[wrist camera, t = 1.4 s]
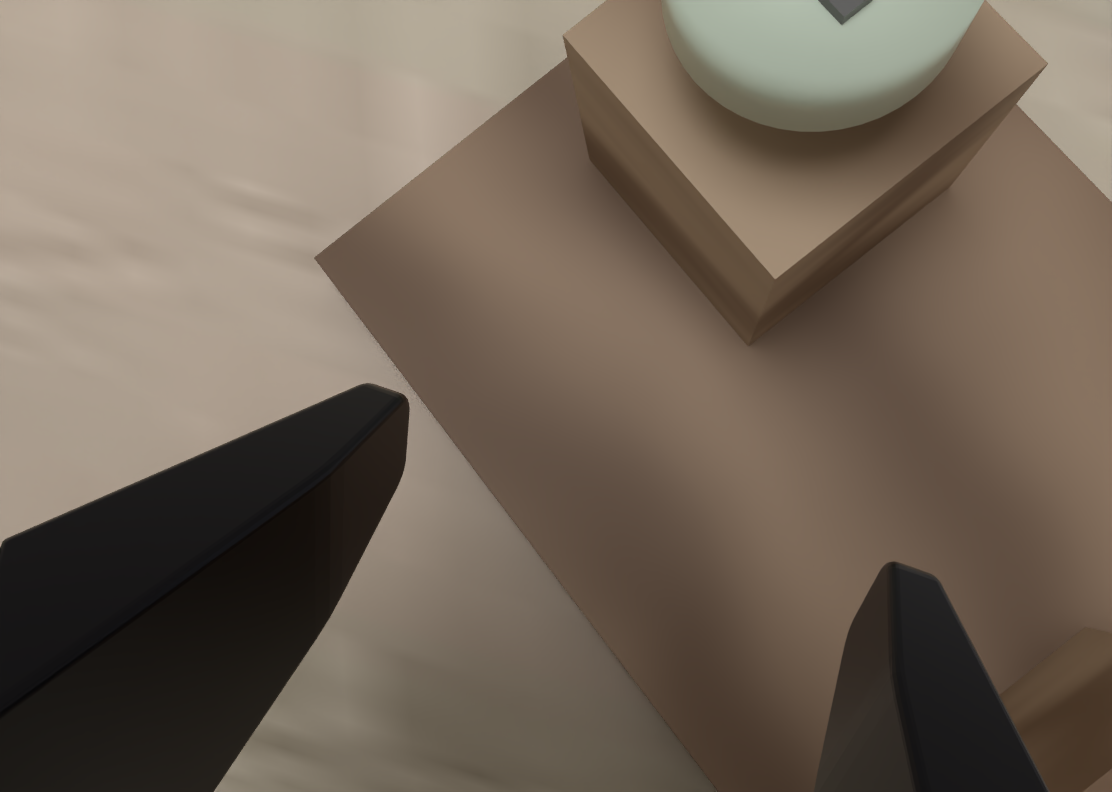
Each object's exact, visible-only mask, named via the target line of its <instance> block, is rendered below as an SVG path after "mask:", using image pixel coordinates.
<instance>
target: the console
mask: <svg viewBox="0 0 1112 792" xmlns="http://www.w3.org/2000/svg"><path fill="white" fill-rule="evenodd" d="M563 38H564V43H565V48H566V52H567V58H566V59H565V60H563V61H562V62H561V63H559V64H558V65H557V66H556V67H554V68H553V69H552V70H551V71H549V72H548V73H547V74H546V75H544V76H543V77H542V78H541V79H539V80H538V81H537V82H535V83H534V84H533V85H532V86H530V87H529V88H528V89H527V90H525V91H524V92H523V93H522V94H520V95H519V96H518V97H517V98H515V99H514V100H513V101H511V102H510V103H509V104H508V105H506V106H505V107H504V108H503V109H501V110H500V111H499V112H498V113H496V114H495V115H494V116H493V117H491V118H490V119H489V120H487V121H486V122H485V123H484V124H482V125H481V126H480V127H479V128H477V129H476V130H475V131H474V132H472V133H471V134H470V135H469V136H467V137H466V138H465V139H463V140H462V141H461V142H460V143H458V144H457V145H456V146H455V147H453V148H452V149H451V150H450V151H448V152H447V153H446V154H445V155H443V156H442V157H441V158H439V159H438V160H437V161H436V162H434V163H433V164H432V165H431V166H429V167H428V168H427V169H426V170H424V171H423V172H422V173H421V174H419V175H418V176H417V177H415V178H414V179H413V180H412V181H410V182H409V183H408V184H407V185H405V186H404V187H403V188H402V189H400V190H399V191H398V192H397V193H395V194H394V195H393V196H392V197H390V198H389V199H388V200H386V201H385V202H384V203H383V204H381V205H380V206H379V207H378V208H376V209H375V210H374V211H373V212H371V213H370V214H369V215H368V216H366V217H365V218H364V219H362V220H361V221H360V222H359V223H357V224H356V225H355V226H354V227H352V228H351V229H350V230H349V231H347V232H346V233H345V234H344V235H342V236H341V237H340V238H338V239H337V240H336V241H335V242H333V243H332V244H331V245H330V246H328V247H327V248H326V249H325V250H323V251H322V252H321V253H320V254H318V255H317V256H316V257H314V258H315V260H316V261H317V262H318V264H319V265H320V266H321V268H322V269H323V270H324V272H325V273H326V274H327V276H328V277H329V278H330V280H331V281H332V282H333V284H334V285H335V286H336V287H337V289H338V290H339V291H340V293H341V294H342V295H343V297H344V298H345V299H346V301H347V302H348V303H349V305H350V306H351V307H352V309H353V310H354V311H355V313H356V314H357V315H358V317H359V318H360V319H361V321H362V322H363V323H364V324H365V326H366V327H367V328H368V330H369V331H370V332H371V334H372V335H373V336H374V338H375V339H376V340H377V342H378V343H379V344H380V346H381V347H382V348H383V350H384V351H385V352H386V354H387V355H388V356H389V357H390V359H391V360H392V361H393V363H394V364H395V365H396V367H397V368H398V369H399V371H400V372H401V373H402V375H403V376H404V377H405V379H406V380H407V381H408V383H409V384H410V385H411V387H412V388H413V389H414V391H415V392H416V393H417V394H418V396H419V397H420V398H421V400H422V401H423V402H424V404H425V405H426V406H427V408H428V409H429V410H430V412H431V413H432V414H433V416H434V417H435V418H436V420H437V421H438V422H439V424H440V425H441V426H442V428H443V429H444V430H445V431H446V433H447V434H448V435H449V437H450V438H451V439H452V441H453V442H454V443H455V445H456V446H457V447H458V449H459V450H460V451H461V453H462V454H463V455H464V457H465V458H466V459H467V461H468V462H469V463H470V464H471V466H472V467H473V468H474V470H475V471H476V472H477V474H478V475H479V476H480V478H481V479H482V480H483V482H484V483H485V484H486V486H487V487H488V488H489V490H490V491H491V492H492V494H493V495H494V496H495V498H496V499H497V500H498V501H499V503H500V504H501V505H502V507H503V508H504V509H505V511H506V512H507V513H508V515H509V516H510V517H511V519H512V520H513V521H514V523H515V524H516V525H517V527H518V528H519V529H520V531H521V532H522V533H523V535H524V536H525V537H526V538H527V540H528V541H529V542H530V544H531V545H532V546H533V548H534V549H535V550H536V552H537V553H538V554H539V556H540V557H541V558H542V560H543V561H544V562H545V564H546V565H547V566H548V568H549V569H550V570H551V571H552V573H553V574H554V575H555V577H556V578H557V579H558V581H559V582H560V583H561V585H562V586H563V587H564V589H565V590H566V591H567V593H568V594H569V595H570V597H571V598H572V599H573V601H574V602H575V603H576V605H577V606H578V607H579V608H580V610H581V611H582V612H583V614H584V615H585V616H586V618H587V619H588V620H589V622H590V623H591V624H592V626H593V627H594V628H595V630H596V631H597V632H598V634H599V635H600V636H601V638H602V639H603V640H604V642H605V643H606V644H607V645H608V647H609V648H610V649H611V651H612V652H613V653H614V655H615V656H616V657H617V659H618V660H619V661H620V663H621V664H622V665H623V667H624V668H625V669H626V671H627V672H628V673H629V675H630V676H631V677H632V678H633V680H634V681H635V682H636V684H637V685H638V686H639V688H640V689H641V690H642V692H643V693H644V694H645V696H646V697H647V698H648V700H649V701H650V702H651V704H652V705H653V706H654V708H655V709H656V710H657V712H658V713H659V714H660V715H661V717H662V718H663V719H664V721H665V722H666V723H667V725H668V726H669V727H670V729H671V730H672V731H673V733H674V734H675V735H676V737H677V738H678V739H679V741H680V742H681V743H682V745H683V746H684V747H685V749H686V750H687V751H688V752H689V754H690V755H691V756H692V758H693V759H694V760H695V762H696V763H697V764H698V766H699V767H700V768H701V770H702V771H703V772H704V774H705V775H706V776H707V778H708V779H709V780H710V782H711V783H712V784H713V785H714V787H715V788H716V789H717V791H718V792H814V788H815V783H816V777H817V772H818V768H819V763H820V758H821V754H822V749H823V744H824V739H825V735H826V730H827V725H828V721H829V716H830V711H831V706H832V702H833V697H834V692H835V687H836V683H837V678H838V673H839V669H840V664H841V659H842V654H843V650H844V645H845V641H846V638H847V634H848V631H849V629H850V626H851V624H852V621H853V619H854V617H855V615H856V613H857V612H858V610H859V608H860V606H861V604H862V602H863V601H864V599H865V597H866V595H867V593H868V591H869V590H870V588H871V586H872V584H873V582H874V580H875V579H876V577H877V575H878V573H879V571H880V570H881V568H882V567H883V566H884V565H885V564H886V563H888V562H893V561H895V562H899V563H902V564H905V565H908V566H911V567H914V568H917V569H920V570H922V571H925V572H928V573H931V574H933V575H934V576H936V578H937V579H938V580H939V581H940V582H941V584H942V586H943V588H944V590H945V591H946V593H947V595H948V597H949V599H950V601H951V603H952V605H953V607H954V609H955V611H956V613H957V615H958V616H959V618H960V620H961V622H962V624H963V626H964V628H965V630H966V632H967V634H968V636H969V638H970V639H971V641H972V643H973V645H974V647H975V649H976V651H977V653H978V655H979V657H980V659H981V661H982V663H983V664H984V666H985V668H986V670H987V672H988V674H989V676H990V678H991V680H992V682H993V684H994V686H995V687H996V689H997V691H998V693H999V695H1000V697H1001V699H1002V701H1003V703H1004V705H1005V707H1006V709H1007V711H1008V712H1009V714H1010V716H1011V718H1012V720H1013V722H1014V724H1015V726H1016V728H1017V730H1018V732H1019V734H1020V735H1021V737H1022V739H1023V741H1024V743H1025V745H1026V747H1027V749H1028V751H1029V753H1030V755H1031V757H1032V759H1033V760H1034V762H1035V764H1036V766H1037V768H1038V770H1039V772H1040V774H1041V776H1042V778H1043V780H1044V782H1045V783H1046V785H1047V787H1048V789H1049V791H1050V792H1112V202H1111V201H1110V200H1109V199H1108V198H1107V197H1106V196H1105V195H1104V194H1103V193H1102V192H1101V191H1100V190H1099V189H1098V188H1097V187H1096V186H1095V185H1094V184H1093V183H1092V182H1091V181H1090V180H1089V179H1088V178H1087V177H1086V175H1085V174H1084V173H1083V172H1082V171H1081V170H1080V169H1079V168H1078V167H1077V166H1076V165H1075V164H1074V163H1073V162H1072V161H1071V160H1070V159H1069V158H1068V157H1067V156H1066V155H1065V154H1064V153H1063V152H1062V151H1061V150H1060V149H1059V148H1058V147H1057V146H1056V145H1055V144H1054V143H1053V142H1052V141H1051V139H1050V138H1049V137H1048V136H1047V135H1046V134H1045V133H1044V132H1043V131H1042V130H1041V129H1040V128H1039V127H1038V126H1037V125H1036V124H1035V123H1034V122H1033V121H1032V120H1031V119H1030V118H1029V117H1028V116H1027V115H1026V114H1025V113H1024V112H1023V111H1022V110H1021V109H1020V108H1019V107H1018V106H1017V105H1016V103H1017V102H1018V101H1019V100H1020V98H1021V97H1022V96H1023V95H1024V93H1025V92H1026V91H1027V90H1028V88H1029V87H1030V86H1031V84H1032V83H1033V82H1034V81H1035V79H1036V78H1037V77H1038V76H1039V74H1040V73H1041V72H1042V71H1043V69H1044V68H1045V67H1046V66H1047V64H1048V63H1047V62H1046V61H1045V60H1044V59H1043V58H1042V57H1041V56H1040V55H1039V54H1038V53H1037V52H1036V51H1035V50H1034V49H1033V48H1032V47H1031V46H1030V45H1029V44H1028V43H1027V42H1026V41H1025V40H1024V39H1023V38H1022V37H1021V36H1020V35H1019V34H1018V33H1017V32H1016V31H1015V30H1014V29H1013V28H1012V27H1011V26H1010V25H1009V24H1008V23H1007V22H1006V21H1005V20H1004V19H1003V18H1002V17H1001V16H1000V15H999V14H998V13H997V12H996V11H995V10H994V8H993V7H992V6H991V5H990V4H989V3H988V2H987V1H986V0H984V2H983V3H982V5H981V7H980V9H979V10H978V12H977V14H976V15H975V17H974V19H973V21H972V22H971V24H970V26H969V27H968V29H967V31H966V33H965V34H964V36H963V38H962V39H961V41H960V43H959V45H958V46H957V48H956V50H955V51H954V53H953V54H952V56H951V58H950V59H949V61H948V62H947V64H946V65H945V67H944V68H943V69H942V71H941V72H940V73H939V74H938V75H937V76H936V78H935V79H934V80H933V81H932V82H931V83H930V84H929V85H928V86H927V87H926V88H925V89H924V90H922V91H921V92H920V93H919V94H918V95H917V96H916V97H914V98H913V99H911V100H910V101H908V102H907V103H905V104H904V105H903V106H901V107H900V108H898V109H896V110H894V111H892V112H890V113H888V114H886V115H884V116H883V117H880V118H878V119H875V120H872V121H870V122H867V123H864V124H862V125H858V126H853V127H849V128H845V129H840V130H832V131H823V132H799V131H791V130H784V129H778V128H774V127H770V126H766V125H762V124H759V123H756V122H754V121H751V120H749V119H746V118H744V117H741V116H740V115H738V114H736V113H734V112H732V111H731V110H729V109H727V108H725V107H724V106H722V105H721V104H720V103H718V102H717V101H715V100H714V99H713V98H711V97H710V96H709V95H708V94H707V93H706V92H705V91H704V90H703V89H701V88H700V87H699V86H698V85H697V84H696V83H695V82H694V80H693V79H692V78H691V76H690V75H689V74H688V73H687V71H686V70H685V69H684V67H683V66H682V64H681V62H680V61H679V59H678V57H677V55H676V54H675V52H674V50H673V47H672V45H671V42H670V40H669V37H668V35H667V31H666V27H665V23H664V19H663V12H662V1H661V0H606V1H605V2H604V3H603V4H601V5H600V6H599V7H598V8H596V9H595V10H594V11H593V12H591V13H590V14H589V15H587V16H586V17H585V18H584V19H582V20H581V21H580V22H579V23H577V24H576V25H575V26H574V27H572V28H571V29H570V30H569V31H567V32H566V33H565V34H563Z"/></svg>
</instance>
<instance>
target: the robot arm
mask: <svg viewBox="0 0 1112 792" xmlns="http://www.w3.org/2000/svg"><path fill="white" fill-rule="evenodd" d="M408 423H409V402H408V399H407V398H406V397H405V396H404V395H403V394H401V393H399V392H396V391H393V390H390V389H387V388H384V387H381V386H378V385H375V384H370V383H365V384H361V385H358V386H356V387H354V388H351V389H349V390H347V391H344V392H342V393H340V394H337V395H335V396H333V397H331V398H328V399H326V400H324V401H321V402H319V403H317V404H315V405H312V406H310V407H308V408H305V409H303V410H301V411H298V412H296V413H294V414H292V415H289V416H287V417H285V418H282V419H280V420H278V421H275V422H273V423H271V424H269V425H266V426H264V427H262V428H259V429H257V430H255V431H253V432H250V433H248V434H246V435H243V436H241V437H239V438H236V439H234V440H232V441H230V442H227V443H225V444H223V445H220V446H218V447H216V448H213V449H211V450H209V451H207V452H204V453H202V454H200V455H197V456H195V457H193V458H191V459H188V460H186V461H184V462H181V463H179V464H177V465H174V466H172V467H170V468H168V469H165V470H163V471H161V472H158V473H156V474H154V475H151V476H149V477H147V478H145V479H142V480H140V481H138V482H135V483H133V484H131V485H129V486H126V487H124V488H122V489H119V490H117V491H115V492H112V493H110V494H108V495H106V496H103V497H101V498H99V499H96V500H94V501H92V502H89V503H87V504H85V505H83V506H80V507H78V508H76V509H73V510H71V511H69V512H67V513H64V514H62V515H60V516H57V517H55V518H53V519H50V520H48V521H46V522H44V523H41V524H39V525H37V526H34V527H32V528H30V529H27V530H25V531H23V532H21V533H18V534H16V535H14V536H11V537H9V538H7V539H5V540H4V541H3V542H2V545H1V547H0V792H214V790H215V789H216V787H217V786H218V784H219V783H220V781H221V780H222V779H223V777H224V776H225V774H226V773H227V771H228V770H229V768H230V767H231V765H232V764H233V762H234V761H235V759H236V758H237V756H238V755H239V753H240V752H241V750H242V749H243V747H244V746H245V744H246V743H247V741H248V740H249V738H250V737H251V735H252V734H253V732H254V731H255V729H256V728H257V726H258V725H259V724H260V722H261V721H262V719H263V718H264V716H265V715H266V713H267V712H268V710H269V709H270V707H271V706H272V704H273V703H274V701H275V700H276V698H277V697H278V695H279V694H280V692H281V691H282V689H283V688H284V686H285V685H286V683H287V682H288V680H289V679H290V677H291V676H292V674H293V673H294V671H295V670H296V669H297V667H298V666H299V664H300V663H301V661H302V660H303V658H304V657H305V655H306V654H307V652H308V651H309V649H310V648H311V646H312V645H313V643H314V642H315V640H316V639H317V637H318V636H319V634H320V632H321V631H322V629H323V628H324V626H325V624H326V623H327V621H328V620H329V618H330V616H331V614H332V613H333V611H334V609H335V607H336V605H337V603H338V601H339V600H340V598H341V596H342V594H343V592H344V590H345V588H346V586H347V584H348V582H349V580H350V578H351V576H352V574H353V572H354V571H355V569H356V567H357V565H358V563H359V561H360V559H361V557H362V555H363V553H364V551H365V549H366V547H367V545H368V543H369V541H370V539H371V537H372V535H373V534H374V532H375V530H376V528H377V526H378V524H379V522H380V520H381V518H382V516H383V514H384V512H385V510H386V508H387V506H388V504H389V502H390V500H391V498H392V497H393V495H394V493H395V491H396V489H397V487H398V485H399V482H400V480H401V477H402V474H403V471H404V467H405V461H406V450H407V436H408ZM814 792H1050V791H1049V789H1048V787H1047V785H1046V783H1045V782H1044V780H1043V778H1042V776H1041V774H1040V772H1039V770H1038V768H1037V766H1036V764H1035V762H1034V760H1033V759H1032V757H1031V755H1030V753H1029V751H1028V749H1027V747H1026V745H1025V743H1024V741H1023V739H1022V737H1021V735H1020V734H1019V732H1018V730H1017V728H1016V726H1015V724H1014V722H1013V720H1012V718H1011V716H1010V714H1009V712H1008V711H1007V709H1006V707H1005V705H1004V703H1003V701H1002V699H1001V697H1000V695H999V693H998V691H997V689H996V687H995V686H994V684H993V682H992V680H991V678H990V676H989V674H988V672H987V670H986V668H985V666H984V664H983V663H982V661H981V659H980V657H979V655H978V653H977V651H976V649H975V647H974V645H973V643H972V641H971V639H970V638H969V636H968V634H967V632H966V630H965V628H964V626H963V624H962V622H961V620H960V618H959V616H958V615H957V613H956V611H955V609H954V607H953V605H952V603H951V601H950V599H949V597H948V595H947V593H946V591H945V590H944V588H943V586H942V584H941V582H940V581H939V580H938V579H937V578H936V576H934V575H933V574H931V573H928V572H925V571H922V570H920V569H917V568H914V567H911V566H908V565H905V564H902V563H899V562H895V561H893V562H888V563H886V564H885V565H884V566H883V567H882V568H881V570H880V571H879V573H878V575H877V577H876V579H875V580H874V582H873V584H872V586H871V588H870V590H869V591H868V593H867V595H866V597H865V599H864V601H863V602H862V604H861V606H860V608H859V610H858V612H857V613H856V615H855V617H854V619H853V621H852V624H851V626H850V629H849V631H848V634H847V638H846V641H845V645H844V650H843V654H842V659H841V664H840V669H839V673H838V678H837V683H836V687H835V692H834V697H833V702H832V706H831V711H830V716H829V721H828V725H827V730H826V735H825V739H824V744H823V749H822V754H821V758H820V763H819V768H818V772H817V777H816V783H815V788H814Z"/></svg>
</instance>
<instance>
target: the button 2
mask: <svg viewBox="0 0 1112 792" xmlns="http://www.w3.org/2000/svg"><path fill="white" fill-rule="evenodd" d="M661 1H662V12H663V19H664V23H665V27H666V31H667V35H668V37H669V40H670V42H671V45H672V47H673V50H674V52H675V54H676V55H677V57H678V59H679V61H680V62H681V64H682V66H683V67H684V69H685V70H686V71H687V73H688V74H689V75H690V76H691V78H692V79H693V80H694V82H695V83H696V84H697V85H698V86H699V87H700V88H701V89H703V90H704V91H705V92H706V93H707V94H708V95H709V96H710V97H711V98H713V99H714V100H715V101H717V102H718V103H720V104H721V105H722V106H724V107H725V108H727V109H729V110H731V111H732V112H734V113H736V114H738V115H740V116H741V117H744V118H746V119H749V120H751V121H754V122H756V123H759V124H762V125H766V126H770V127H774V128H778V129H784V130H791V131H799V132H823V131H832V130H840V129H845V128H849V127H853V126H858V125H862V124H864V123H867V122H870V121H872V120H875V119H878V118H880V117H883V116H884V115H886V114H888V113H890V112H892V111H894V110H896V109H898V108H900V107H901V106H903V105H904V104H905V103H907V102H908V101H910V100H911V99H913V98H914V97H916V96H917V95H918V94H919V93H920V92H921V91H922V90H924V89H925V88H926V87H927V86H928V85H929V84H930V83H931V82H932V81H933V80H934V79H935V78H936V76H937V75H938V74H939V73H940V72H941V71H942V69H943V68H944V67H945V65H946V64H947V62H948V61H949V59H950V58H951V56H952V54H953V53H954V51H955V50H956V48H957V46H958V45H959V43H960V41H961V39H962V38H963V36H964V34H965V33H966V31H967V29H968V27H969V26H970V24H971V22H972V21H973V19H974V17H975V15H976V14H977V12H978V10H979V9H980V7H981V5H982V3H983V2H984V0H661Z"/></svg>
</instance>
